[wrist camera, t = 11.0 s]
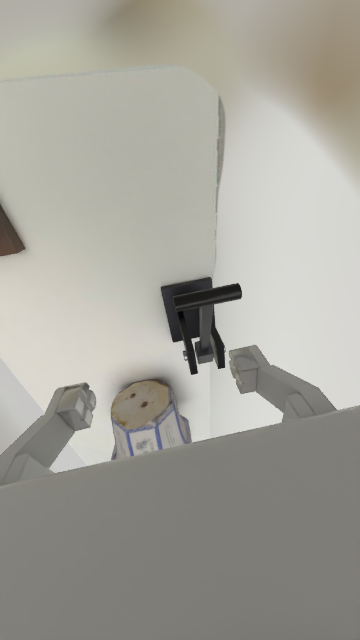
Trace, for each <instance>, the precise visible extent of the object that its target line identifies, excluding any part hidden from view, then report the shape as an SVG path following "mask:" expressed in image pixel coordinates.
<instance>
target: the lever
mask: <svg viewBox="0 0 360 640" xmlns="http://www.w3.org/2000/svg"><path fill="white" fill-rule="evenodd" d="M241 297H242V291H241V287H240V285H239V284H238V283H237V284H231V285H226V286H222V287H217V288H212V289H207V290H202V291H197V292H192V293H187V294H182V295H177V296H173V302H174V307H175V312H179V311H184V310H189V309H194V308H199V307H200V341H198V342H195V352H196V356H197V360H198V364H202V363H206V362H211V361H213V357H214V352H213V349H212V346H211V342H210V333H211V323H212V313H213V304H218V303H223V302H228V301H232V300H238V299H241Z"/></svg>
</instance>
